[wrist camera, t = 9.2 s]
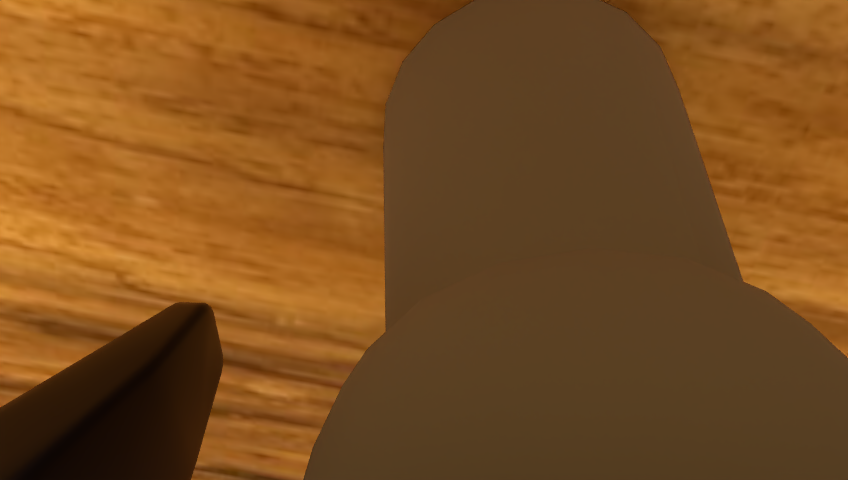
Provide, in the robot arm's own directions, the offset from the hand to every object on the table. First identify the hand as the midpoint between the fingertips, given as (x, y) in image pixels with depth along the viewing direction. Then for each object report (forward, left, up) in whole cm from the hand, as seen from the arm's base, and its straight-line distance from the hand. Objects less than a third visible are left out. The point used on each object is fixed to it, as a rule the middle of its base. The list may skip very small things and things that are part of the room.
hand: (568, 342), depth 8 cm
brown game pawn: (0, 0, -7) cm, 7 cm away
